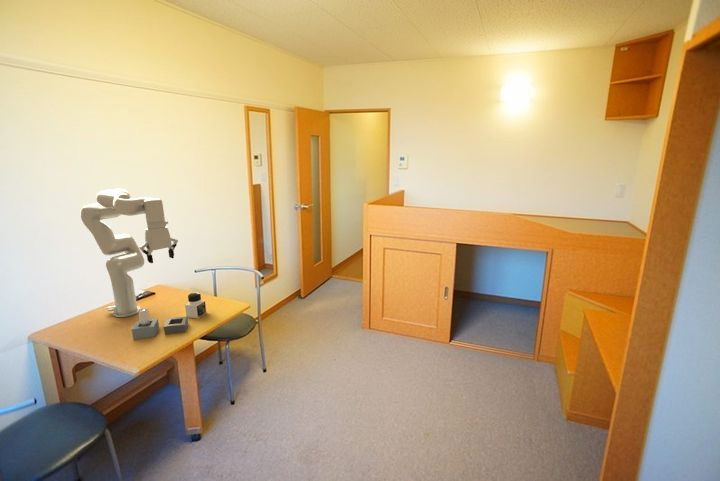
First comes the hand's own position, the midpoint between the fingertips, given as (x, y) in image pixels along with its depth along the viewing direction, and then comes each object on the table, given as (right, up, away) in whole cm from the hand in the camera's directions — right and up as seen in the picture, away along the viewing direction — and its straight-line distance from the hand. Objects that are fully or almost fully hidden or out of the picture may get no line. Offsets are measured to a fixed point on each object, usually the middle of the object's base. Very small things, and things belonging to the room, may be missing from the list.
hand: (161, 260), depth 174 cm
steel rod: (-7, -35, -1) cm, 36 cm away
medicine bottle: (+8, -30, +19) cm, 37 cm away
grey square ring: (+5, -34, +4) cm, 34 cm away
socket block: (-7, -35, -1) cm, 36 cm away
